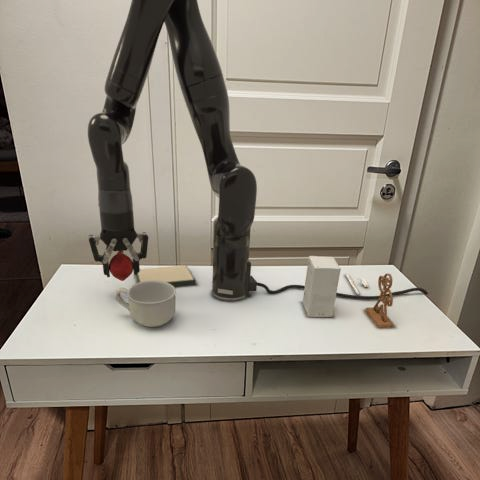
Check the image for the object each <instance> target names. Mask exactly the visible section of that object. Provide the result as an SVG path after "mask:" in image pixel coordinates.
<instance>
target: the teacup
mask: <svg viewBox="0 0 480 480" xmlns="http://www.w3.org/2000/svg"><path fill="white" fill-rule="evenodd" d="M121 293H122V294H124V295H126V297H127V300H128V302H127V301H126V300H124V299H123V298H122V296H121ZM176 294H177V289H176V287H174V286H172V285H171V284H169V283H167V282H164V281H154V280H151V281H143V282H139V283H138V282H137V283H134V284H133V285H131V286H130V287H129V288H126V287H119V288H118V289H117V290H116V291H115V294H114V298H115V300H116V302H117V303H119V305H121V306H122V307H124V308H125V309H127V310H128V312H129V314H130V316H131V318H132V320H133V321H135V322H136V323H138V324H139V325H141V326H144V327H147V328H157V327H161V326H164V325H165V324H167V323H168V322H170V321H171V320H172V319H173V318H174V315H175V313H176V308H177V307H176V304H177V303H176Z"/></svg>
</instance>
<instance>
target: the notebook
mask: <svg viewBox="0 0 480 480" xmlns="http://www.w3.org/2000/svg"><path fill="white" fill-rule="evenodd" d="M135 276H136V279H137V283H139V282H143V281H151V280H154V281H164V282H167V283H169V284H171V285H172V286H174V288H177V287H189V286H196V284H197V283H196V281H197V280H196V279H195V277H194V275H193V273H192V272H191V270H190V268H189V267H188V265H187V264H186V265H185V264H184V265H174V266H161V267H160V266H159V267H149V268H140V271H139V273H137V275H135Z"/></svg>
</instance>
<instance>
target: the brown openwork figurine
mask: <svg viewBox="0 0 480 480" xmlns="http://www.w3.org/2000/svg"><path fill="white" fill-rule="evenodd" d="M393 281H394V280H393V276H392V274H391V273H385V274H383V275H379V277H378V279H377V285H378V290H379V292H380V293H379V296H380V298H379V299H377V302H376V303H375V304H374V306H372V307H368V306H367V307H365V309H364V312H365V313H366V314H367V316H368V318H370V319H371V321H372V322H373V323H374V324H375V325H376V327H377V328H378V329H393V328H394V326H395V323H394V322H393V321H392V320H391V318H389V317H388V307H389V308H391V307H393V303H394V296H393V295H392V291H391V288H392V286H393ZM385 294H389V295H390V297H389V296H386V297H385ZM380 303H381V304H380ZM379 304H380V305H379Z"/></svg>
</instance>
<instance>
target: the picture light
mask: <svg viewBox="0 0 480 480" xmlns="http://www.w3.org/2000/svg"><path fill="white" fill-rule="evenodd" d="M345 277H346V278H347V280H348V282H349V283H350V285H351V287H352V289H353V290H354V292H355V295H357V296H360V292H359V290H358V289H357V287H356V286H355V284H354V282H355V281H357V280H359V281H360V284H361V285H362V286H363V287H364V288H368V287H369V283H368V282H367V281H366V279H363V278H362V279H361V278H359V277H358V278H357V277H355V278H353V279H352V278H351V276H350V275H349V274H348V273H345Z"/></svg>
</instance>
